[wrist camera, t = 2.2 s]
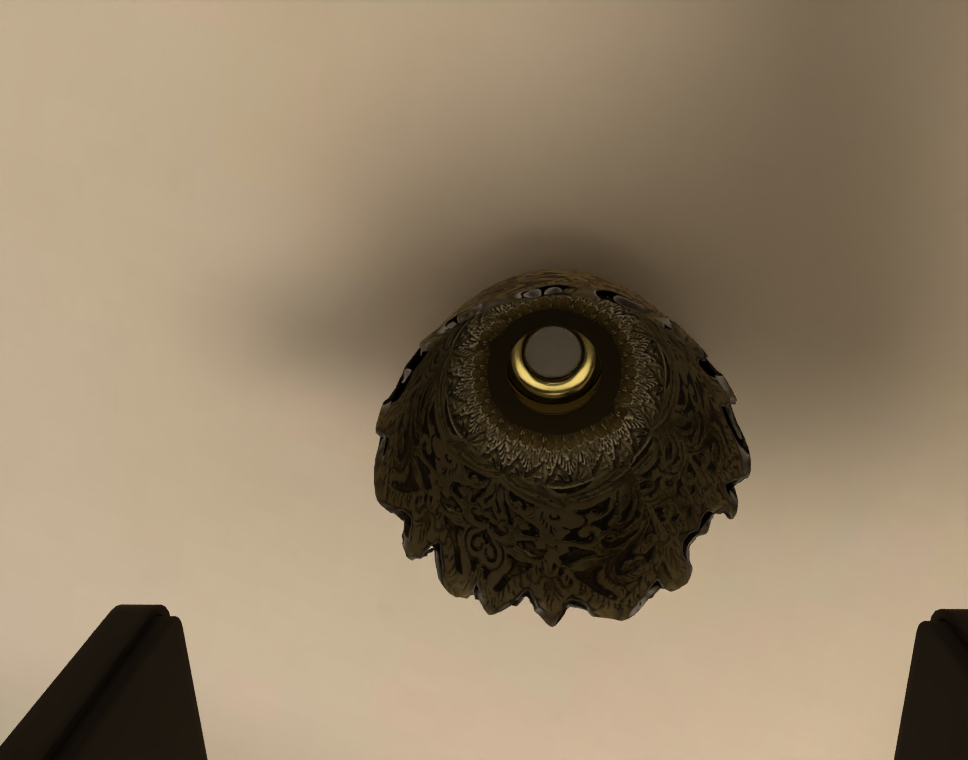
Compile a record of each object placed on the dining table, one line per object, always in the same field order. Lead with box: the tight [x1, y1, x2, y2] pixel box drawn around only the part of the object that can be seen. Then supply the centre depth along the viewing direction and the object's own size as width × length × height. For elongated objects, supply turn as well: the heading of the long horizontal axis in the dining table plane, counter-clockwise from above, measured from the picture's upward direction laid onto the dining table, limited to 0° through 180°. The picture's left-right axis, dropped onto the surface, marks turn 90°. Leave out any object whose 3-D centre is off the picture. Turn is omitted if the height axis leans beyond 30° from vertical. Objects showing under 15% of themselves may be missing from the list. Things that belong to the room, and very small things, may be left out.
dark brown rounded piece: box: [374, 270, 751, 627], centre depth 20 cm, size 8×7×8 cm
